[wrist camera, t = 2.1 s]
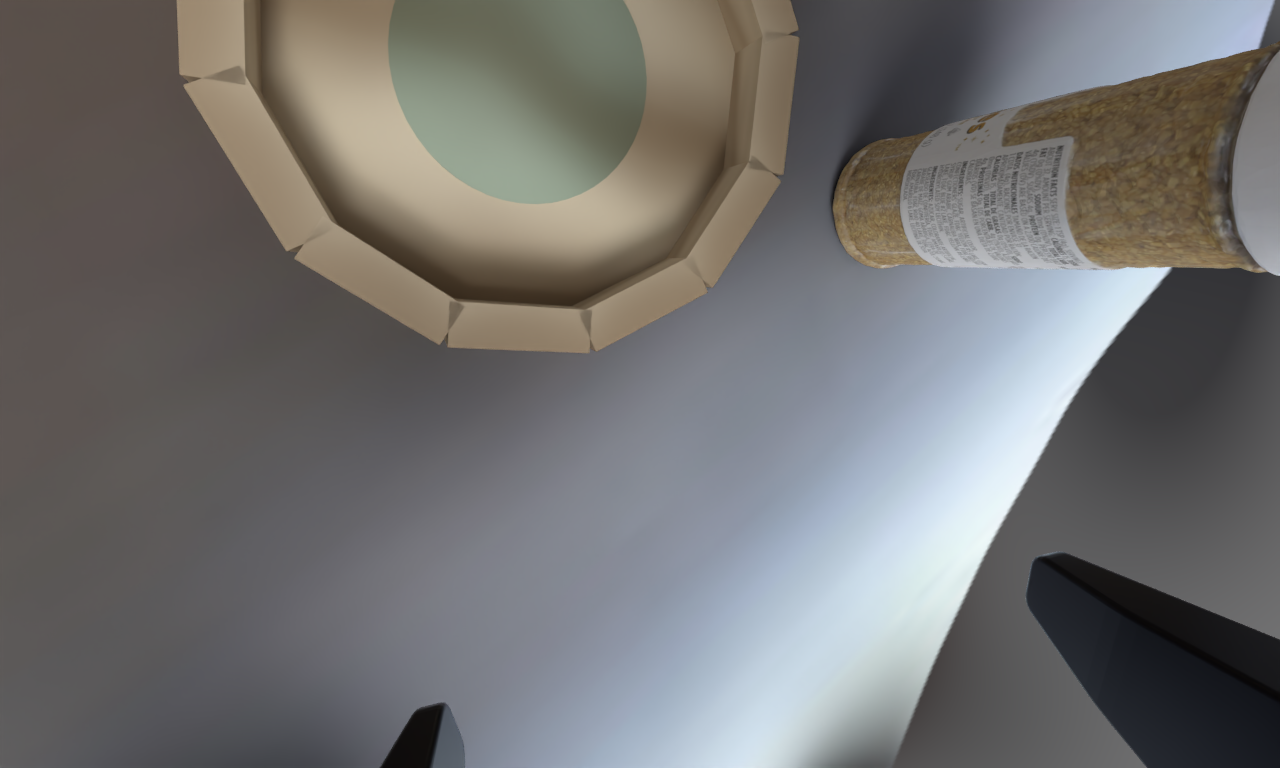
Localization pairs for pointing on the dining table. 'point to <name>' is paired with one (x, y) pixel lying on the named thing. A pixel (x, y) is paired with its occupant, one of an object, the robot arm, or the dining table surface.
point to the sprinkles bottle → (1084, 179)
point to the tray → (502, 150)
